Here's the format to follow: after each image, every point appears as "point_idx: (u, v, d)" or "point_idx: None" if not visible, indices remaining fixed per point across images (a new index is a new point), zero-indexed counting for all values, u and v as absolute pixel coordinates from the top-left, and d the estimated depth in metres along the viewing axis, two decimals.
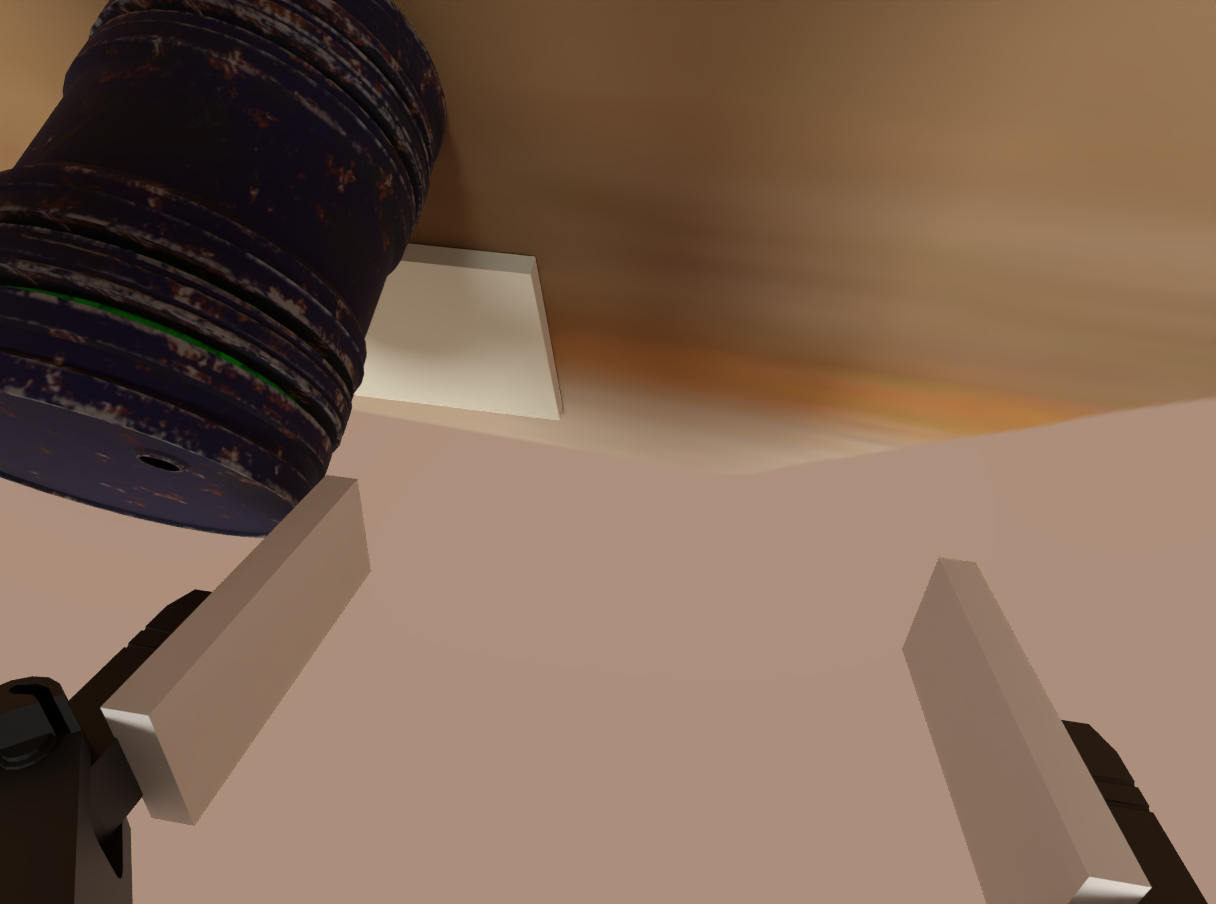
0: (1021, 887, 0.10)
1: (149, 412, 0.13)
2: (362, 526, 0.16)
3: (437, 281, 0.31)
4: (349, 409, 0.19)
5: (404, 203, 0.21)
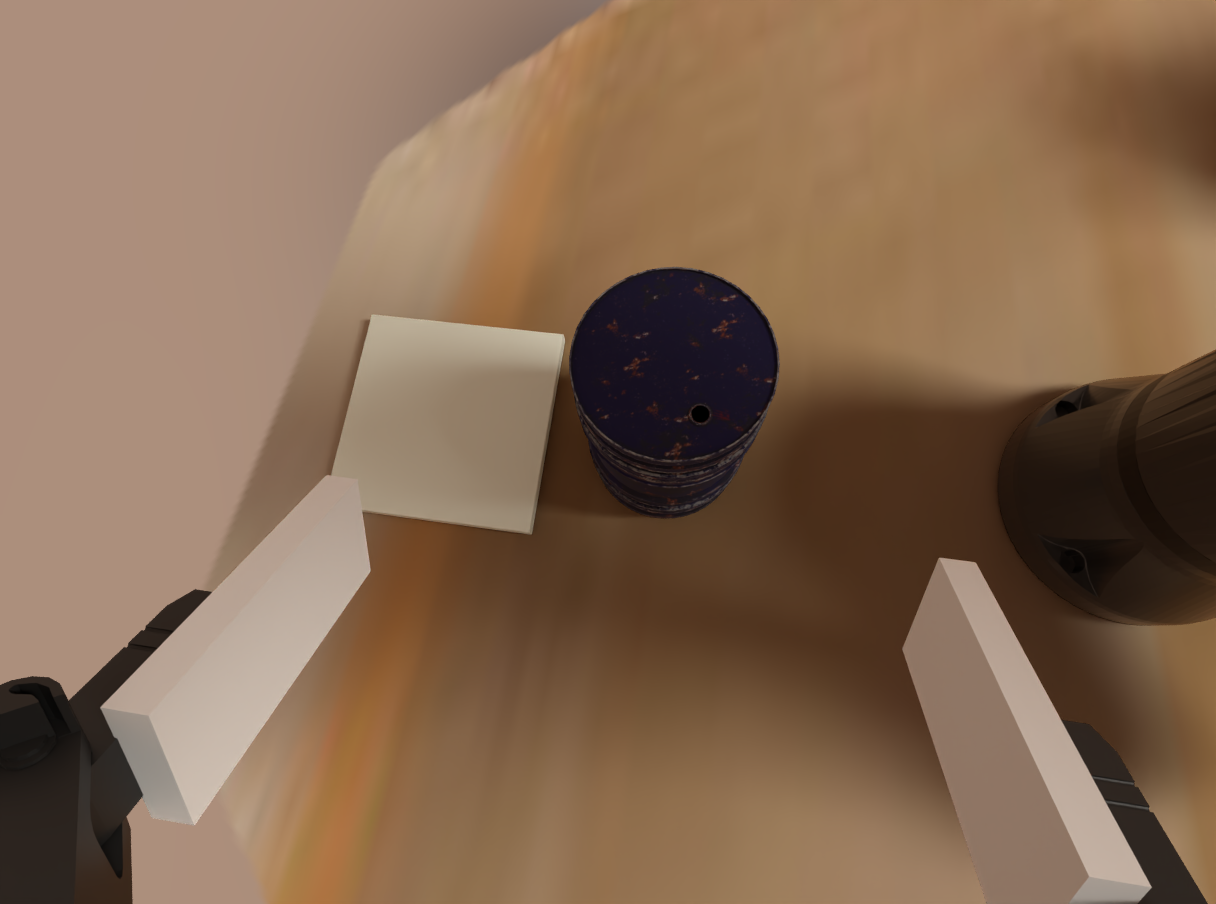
0: (1021, 887, 0.10)
1: (740, 441, 0.30)
2: (362, 526, 0.16)
3: (523, 462, 0.44)
4: (625, 469, 0.33)
5: (653, 503, 0.39)
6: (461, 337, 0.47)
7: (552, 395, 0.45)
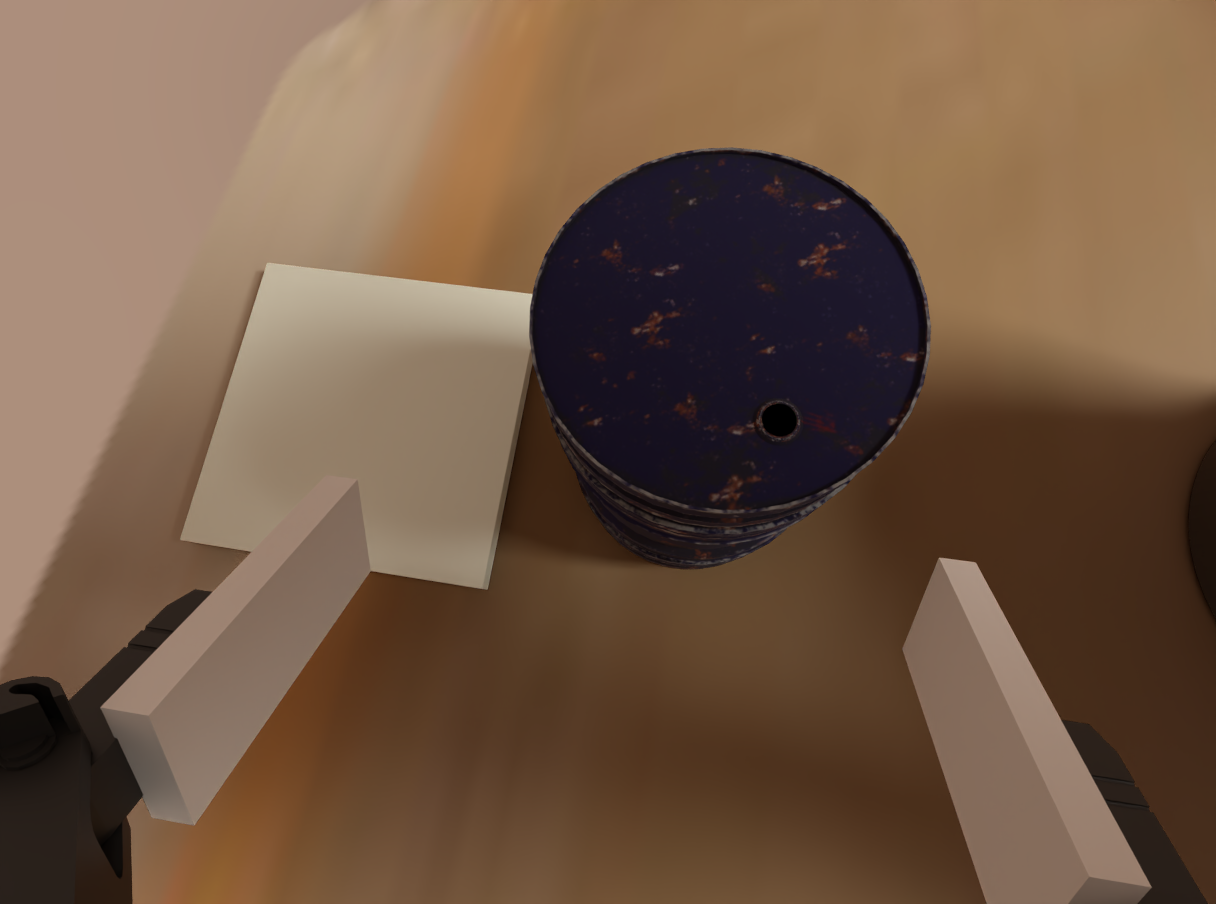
0: (1021, 887, 0.10)
1: None
2: (362, 526, 0.16)
3: (476, 482, 0.30)
4: (631, 515, 0.18)
5: (673, 556, 0.25)
6: (393, 297, 0.32)
7: (522, 383, 0.31)
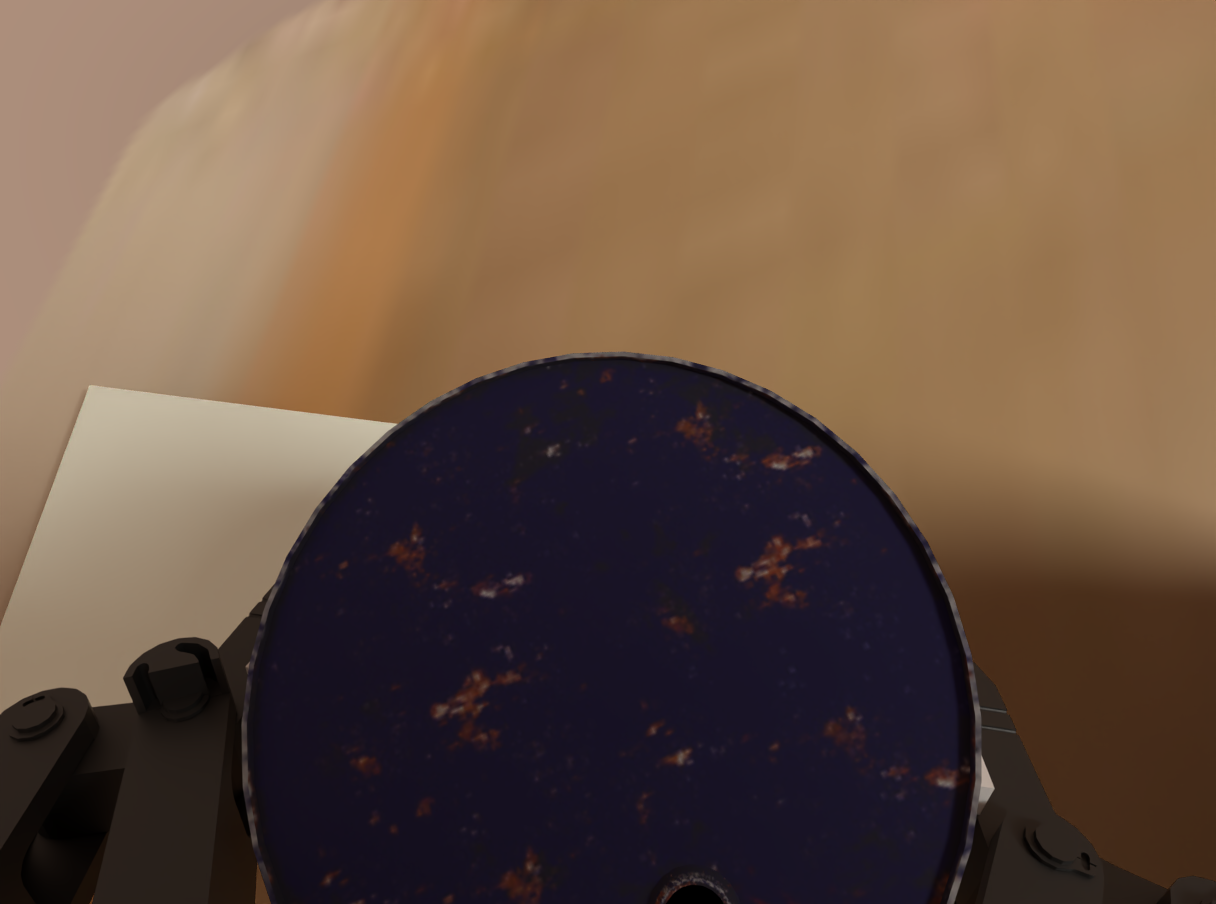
0: None
1: None
2: None
3: None
4: None
5: None
6: (248, 432, 0.25)
7: None
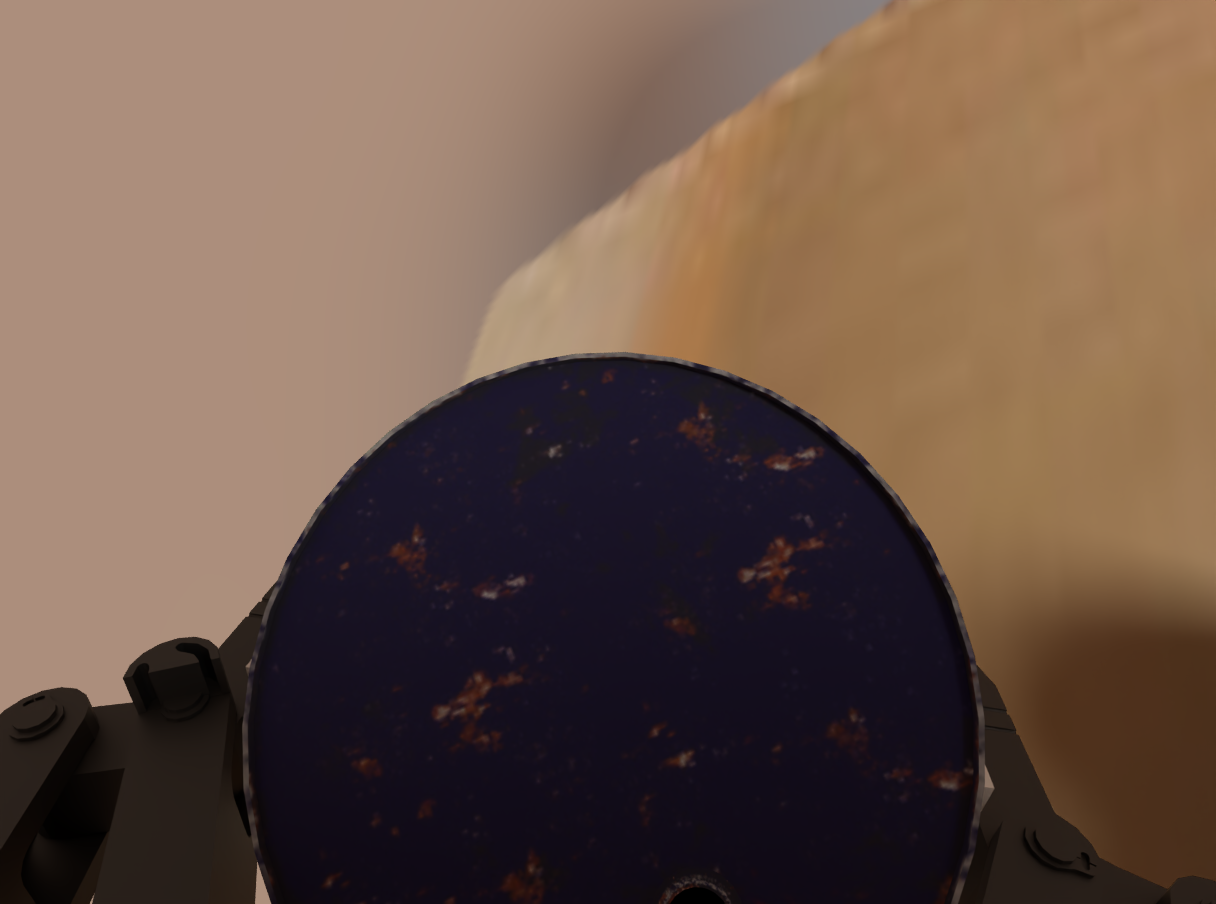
0: None
1: None
2: None
3: None
4: None
5: None
6: None
7: None
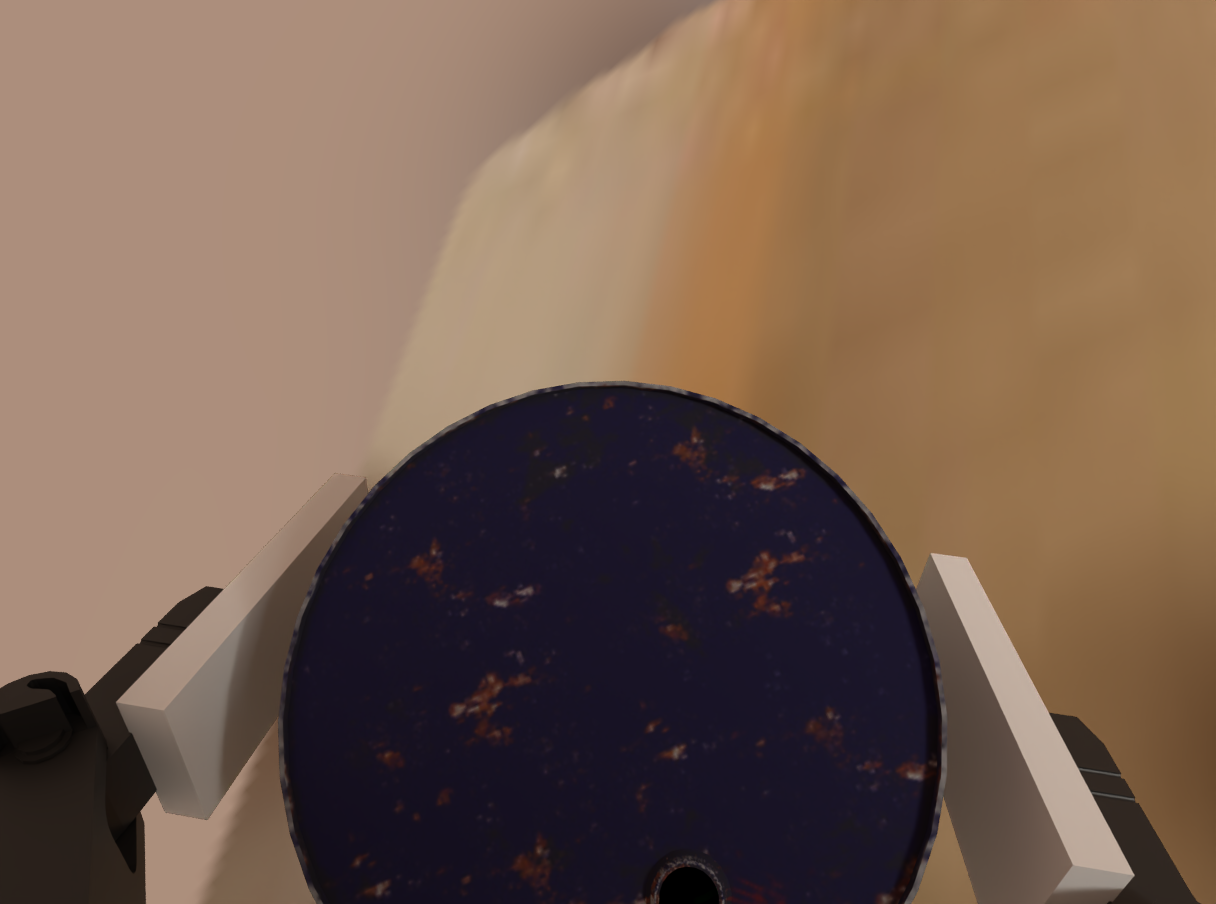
0: (1008, 877, 0.10)
1: None
2: None
3: None
4: None
5: None
6: None
7: None
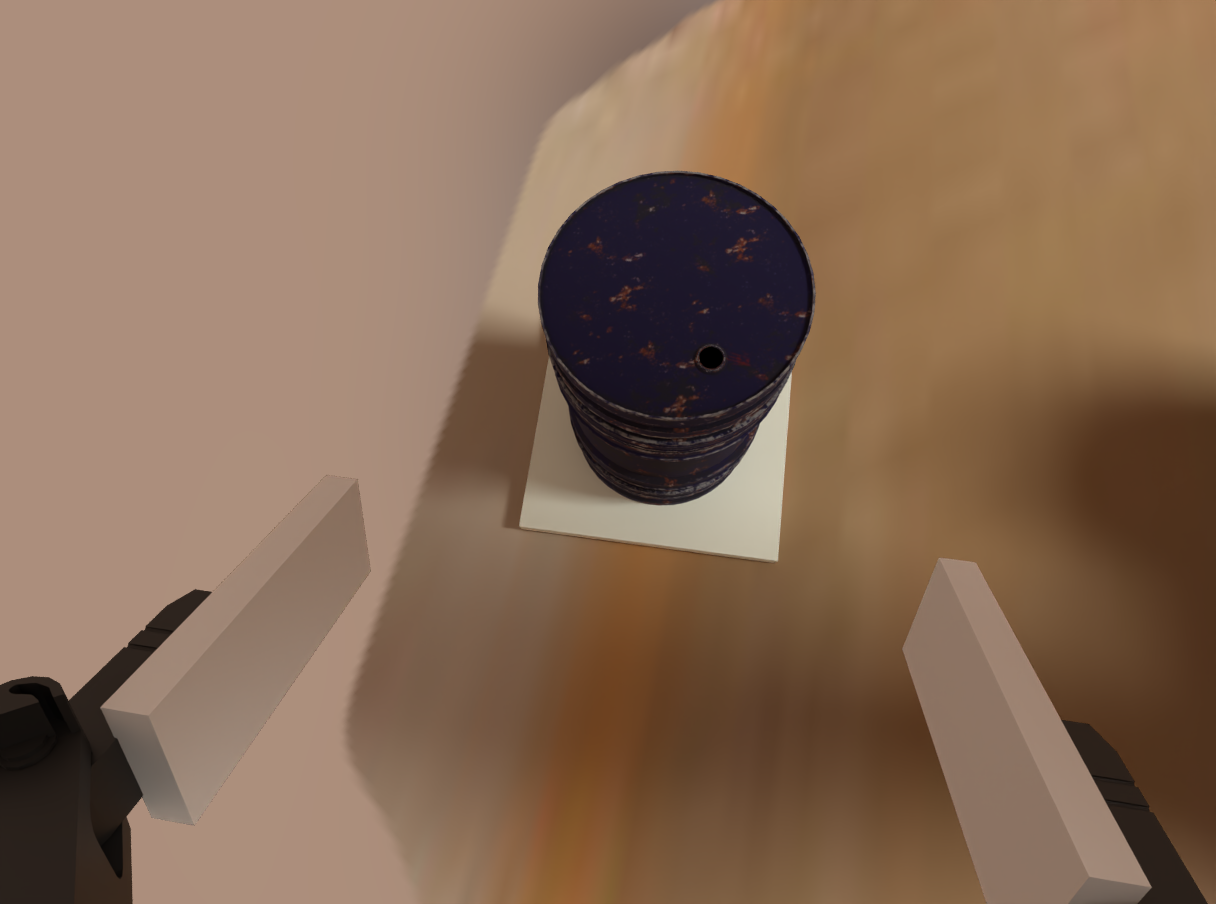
0: (1021, 887, 0.10)
1: (764, 394, 0.22)
2: (362, 525, 0.16)
3: (761, 475, 0.36)
4: (612, 436, 0.25)
5: (647, 485, 0.31)
6: None
7: (789, 394, 0.38)
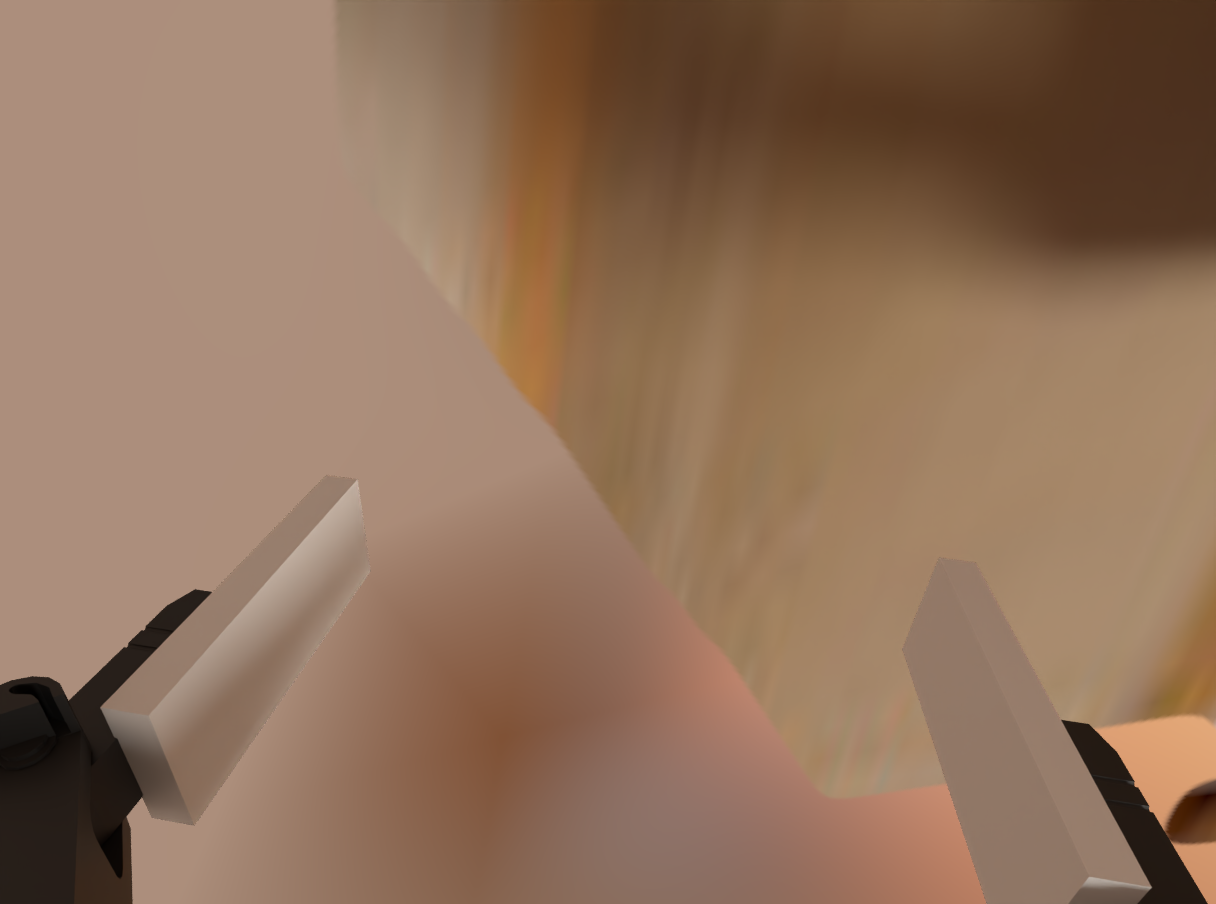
0: (1021, 887, 0.10)
1: None
2: (362, 526, 0.16)
3: None
4: None
5: None
6: None
7: None
